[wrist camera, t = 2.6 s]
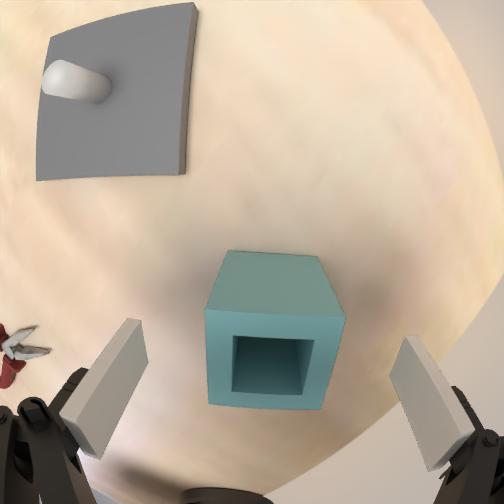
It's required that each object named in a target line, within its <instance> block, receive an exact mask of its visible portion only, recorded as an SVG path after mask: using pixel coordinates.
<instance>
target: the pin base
mask: <svg viewBox="0 0 504 504" xmlns="http://www.w3.org/2000/svg"><path fill="white" fill-rule="evenodd" d="M197 17H198V10H197V8H196V6H195V4H194V2H189V3H180V4H172V5H165V6H159V7H153V8H148V9H142V10H138V11H133V12H128V13H124V14H120V15H116V16H112V17H108V18H105V19H101V20H98V21H95V22H91V23H88V24H85V25H82V26H79V27H76V28H73V29H71V30H68V31H65V32H63V33H60V34H57V35H55V36H52V37H51V38H50V42H49V46H48V51H47V56H46V61H45V66H44V72H43V78H42V84H41V92H40V100H39V110H38V121H37V139H36V181H44V180H56V179H69V178H85V177H106V176H143V175H183V174H185V159H186V136H187V118H188V104H189V91H190V79H191V68H192V58H193V49H194V40H195V32H196V25H197Z"/></svg>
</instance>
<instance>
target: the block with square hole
mask: <svg viewBox="0 0 504 504" xmlns="http://www.w3.org/2000/svg"><path fill="white" fill-rule="evenodd" d="M345 319H346V316H345V314H344V312H343V310H342V308H341V306H340V303H339V301H338V299H337V297H336V295H335V293H334V291H333V288H332V286H331V284H330V282H329V280H328V278H327V276H326V274H325V272H324V270H323V268H322V266H321V264H320V262H319V259H318V257H317V256H303V255H288V254H273V253H258V252H243V251H228V252H227V254H226V257H225V259H224V262H223V264H222V267H221V269H220V272H219V274H218V277H217V279H216V282H215V285H214V287H213V290H212V292H211V295H210V297H209V300H208V303H207V305H206V308H205V332H206V360H207V382H208V400H209V404H213V405H222V406H232V407H244V408H259V409H285V410H320V409H321V406H322V403H323V400H324V397H325V394H326V390H327V387H328V384H329V380H330V377H331V373H332V370H333V366H334V363H335V359H336V355H337V351H338V348H339V344H340V340H341V336H342V332H343V328H344V323H345Z"/></svg>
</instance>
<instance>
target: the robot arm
mask: <svg viewBox="0 0 504 504" xmlns="http://www.w3.org/2000/svg"><path fill="white" fill-rule="evenodd" d="M147 364H148V358H147V353H146V348H145V342H144V336H143V330H142V324H141V320H135V319H129V318H127V319H126V320H125V322H124V323H123V324H122V326H121V327H120V328H119V330H118V331H117V332H116V334H115V335H114V336H113V338H112V339H111V340H110V342H109V343H108V344H107V346H106V347H105V348H104V350H103V351H102V352H101V354H100V355H99V357H98V358H97V359H96V361H95V362H94V363H93V365H92V366H91V368H90V369H86V368H82V367H81V368H80V369H78V370H77V371H75V372H74V373H72V375H71V376H70V377H69V379H68V380H67V383H65V384H64V386H63V387H62V389H61V390H60V391H59V392H58V394H57V395H56V397H55V398H54V399H53V401H52V402H51V404H50V405H49V406H48V407H47V405H46V403H45V402H44V401H43V400H42V399H41V398H38V397H29V398H26V399H24V400H23V401H22V402H20V404H19V406H18V409H17V413H18V414H19V416H16V415H14V414H13V413H12V411H11V409H9V408H8V407H7V406H0V504H39V494H40V497H41V501H42V504H97V503H96V501H95V498H94V496H93V494H92V491H91V489H90V486H89V484H88V481H87V479H86V476H85V473H84V470H83V468H82V465H81V462H80V459H79V456H78V454H77V451H78V449H79V447H80V448H81V450H82V451H83V453H84V454H85V455H88V456H91V457H93V458H96V459H98V460H101V458H102V456H103V453H104V451H105V449H106V447H107V445H108V443H109V441H110V439H111V436H112V434H113V432H114V430H115V428H116V426H117V424H118V422H119V420H120V418H121V416H122V414H123V412H124V410H125V408H126V406H127V404H128V402H129V400H130V398H131V396H132V394H133V392H134V390H135V388H136V386H137V384H138V382H139V380H140V378H141V376H142V374H143V372H144V370H145V368H146V366H147ZM390 379H391V381H392V383H393V385H394V388H395V390H396V392H397V394H398V397H399V399H400V401H401V404H402V406H403V408H404V411H405V413H406V416H407V418H408V421H409V423H410V425H411V428H412V430H413V433H414V435H415V437H416V441H417V443H418V446H419V448H420V451H421V454H422V456H423V459H424V462H425V465H426V467H427V470H428V472H430V471H433V470H436V469H440V468H442V467H443V466H444V465H445V464H446V463H447V462H448V461H450V464H451V466H450V467H449V468H448V469H447V470H446V471H445V472H444V473H443V474H442V475H441V476H440V478H439V479H441V478H443V477H444V476H445V478H444V480H443V483H442V485H441V487H440V490H439V492H438V495H437V497H436V499H435V501H434V503H433V504H504V436H502V437H501V436H500V437H499V436H498V434H497V433H496V432H494V431H493V430H489V429H486V430H485V429H484V428H483V426H482V424H481V422H480V421H479V419H478V417H477V416H476V414H475V412H474V410H473V409H472V408H471V405H470V404H469V402H468V401H467V399H466V397H465V395H464V394H463V392H462V391H460V390H459V389H458V388H457V387H456V386H450V385H449V383H448V382H447V381H446V379H445V377H444V375H443V374H442V372H441V370H440V369H439V367H438V366H437V364H436V363H435V361H434V360H433V358H432V357H431V355H430V354H429V352H428V351H427V349H426V348H425V346H424V345H423V343H422V342H421V340H420V339H419V337H418V336H417V335H416V336H405V338H404V341H403V343H402V346H401V349H400V351H399V354H398V356H397V359H396V361H395V364H394V366H393V369H392V371H391V373H390ZM179 504H273V502H272V501H271V500H269V499H267V498H265V497H263V496H260V495H256V494H252V493H248V492H243V491H237V490H229V489H217V488H200V489H192V490H188V491H185V492H183V493H182V495H181V499H180V503H179Z"/></svg>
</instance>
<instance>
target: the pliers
mask: <svg viewBox="0 0 504 504" xmlns="http://www.w3.org/2000/svg"><path fill="white" fill-rule="evenodd" d="M34 330H35V328H33V329H27V330H21V331H17V332H16V333H15V334H14V335H12V336H11V337H9V335H7V334H6V333H5V329H4V326H3V325H2V324H0V351H1V352H2V351H3V350H4V352H5V353H6V354H5V355H4V357H3V365H2V374H1V376H0V388H2V389H6V388H8V387H10V386H11V384H12V382H13V380H14V375H15V372H16V373H18V372H20V370H21V369H22V368H23V367H24V366H25V364H26V362H25V361H24V360H28V359H32V358H36V357H39V356H43V355H46V354H49V353H50V351H47V350H43V349H40V348H36V347H32V346H25V347H24V348H22V347H21V346H20V345H19V342H20V341H21V340H22V339H24V338H25V337H26V336H27V335H29V334H30V333H31V332H32V331H34Z"/></svg>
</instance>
